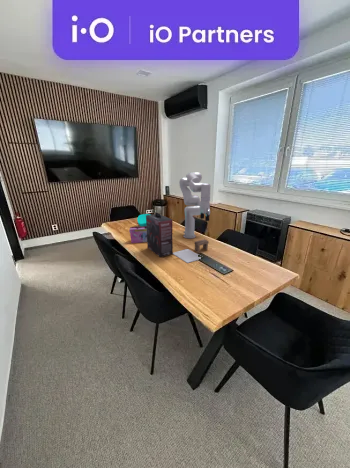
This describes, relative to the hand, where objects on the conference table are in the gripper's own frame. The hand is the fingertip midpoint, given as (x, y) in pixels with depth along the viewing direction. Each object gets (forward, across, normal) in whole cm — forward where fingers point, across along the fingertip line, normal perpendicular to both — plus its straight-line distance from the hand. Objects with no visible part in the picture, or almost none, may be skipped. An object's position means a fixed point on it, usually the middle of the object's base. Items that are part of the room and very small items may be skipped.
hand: (204, 219), depth 170 cm
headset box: (+26, -7, -38) cm, 47 cm away
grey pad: (+26, +10, -19) cm, 34 cm away
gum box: (+25, -35, -48) cm, 64 cm away
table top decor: (+23, -71, -33) cm, 81 cm away
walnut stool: (+26, +2, -3) cm, 26 cm away
